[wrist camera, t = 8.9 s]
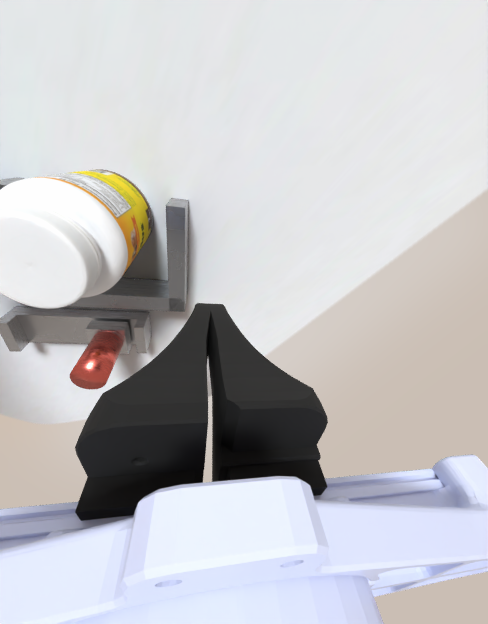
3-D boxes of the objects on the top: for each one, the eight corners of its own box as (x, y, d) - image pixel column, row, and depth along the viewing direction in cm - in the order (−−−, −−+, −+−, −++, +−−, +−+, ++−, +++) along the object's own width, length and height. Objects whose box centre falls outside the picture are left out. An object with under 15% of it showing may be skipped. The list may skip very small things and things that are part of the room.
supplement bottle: (128, 262, 20) (69, 344, 11) (57, 212, 17) (-90, 270, 9) (170, 212, 18) (136, 264, 9) (98, 147, 15) (-37, 140, 7)
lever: (97, 344, 22) (70, 391, 18) (91, 320, 20) (60, 364, 16) (131, 345, 23) (113, 390, 18) (128, 321, 21) (107, 365, 17)
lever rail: (27, 333, 22) (9, 351, 20) (15, 306, 20) (-6, 322, 18) (151, 336, 24) (146, 353, 22) (149, 312, 22) (143, 327, 20)
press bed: (-3, 282, 19) (-109, 347, 13) (-57, 167, 15) (-258, 178, 8) (187, 293, 22) (178, 352, 15) (188, 200, 18) (177, 227, 11)
